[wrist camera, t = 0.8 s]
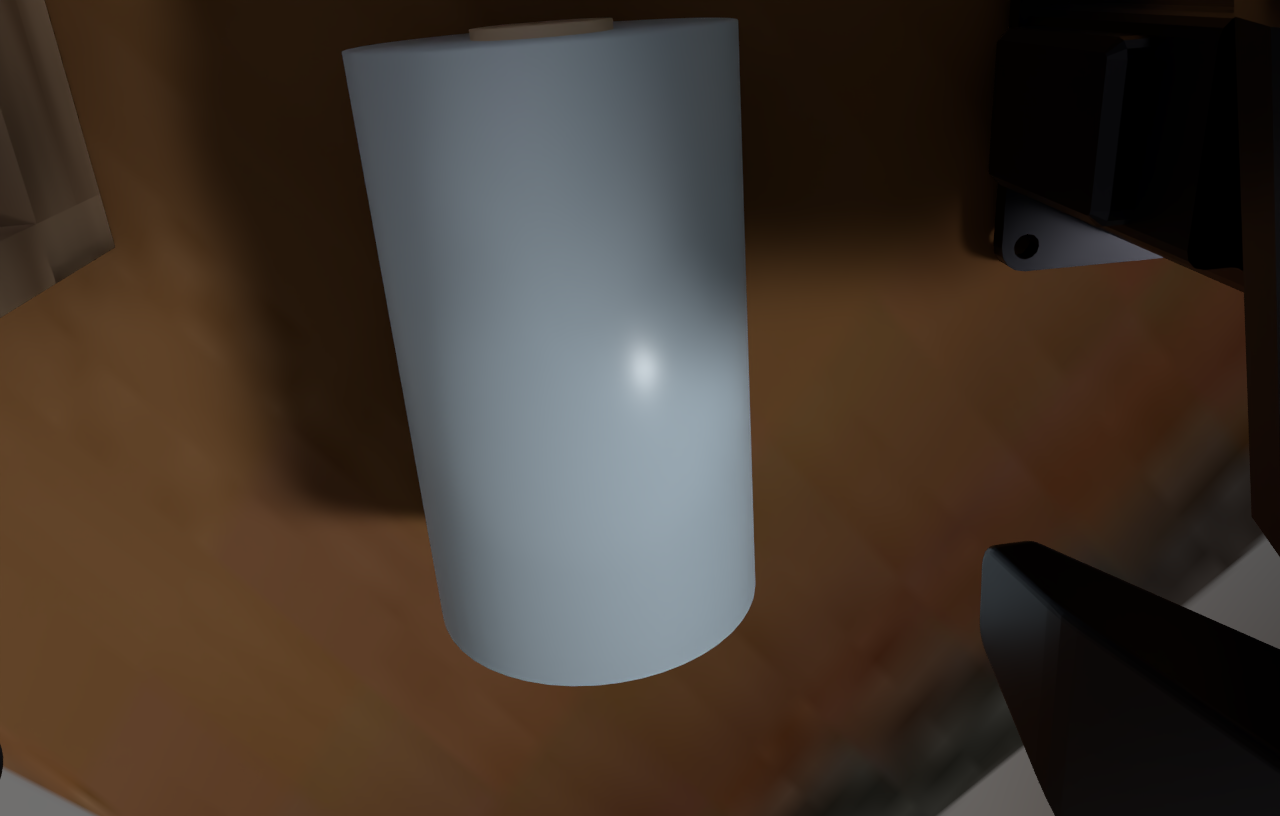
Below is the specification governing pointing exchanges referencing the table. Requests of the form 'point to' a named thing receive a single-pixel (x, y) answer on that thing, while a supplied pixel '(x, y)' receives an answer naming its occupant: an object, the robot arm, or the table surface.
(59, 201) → the holder
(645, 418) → the roll
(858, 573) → the table surface
